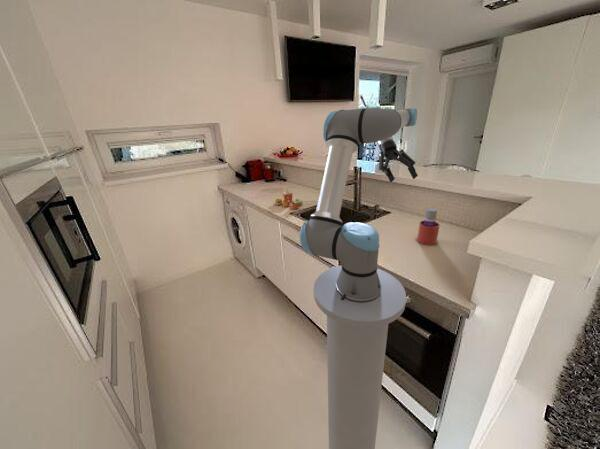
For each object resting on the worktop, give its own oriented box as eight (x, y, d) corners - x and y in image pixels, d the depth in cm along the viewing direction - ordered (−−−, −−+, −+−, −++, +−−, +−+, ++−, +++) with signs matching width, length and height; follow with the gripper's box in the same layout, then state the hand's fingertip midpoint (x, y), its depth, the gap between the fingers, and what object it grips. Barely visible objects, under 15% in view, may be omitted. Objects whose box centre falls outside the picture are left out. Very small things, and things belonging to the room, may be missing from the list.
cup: (426, 246, 112) (429, 228, 108) (413, 239, 119) (415, 222, 115) (440, 242, 114) (443, 225, 111) (426, 236, 121) (429, 219, 118)
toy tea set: (271, 204, 185) (270, 191, 181) (287, 199, 194) (286, 187, 190) (294, 211, 167) (293, 197, 163) (310, 205, 176) (309, 192, 172)
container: (425, 242, 114) (429, 211, 108) (419, 238, 118) (423, 208, 112) (434, 241, 114) (439, 210, 108) (428, 237, 118) (433, 207, 113)
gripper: (402, 147, 132) (419, 180, 125) (362, 151, 125) (378, 186, 117) (410, 137, 125) (429, 171, 118) (369, 141, 118) (386, 177, 111)
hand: (404, 179), depth 118 cm, fingers open, 13 cm apart
